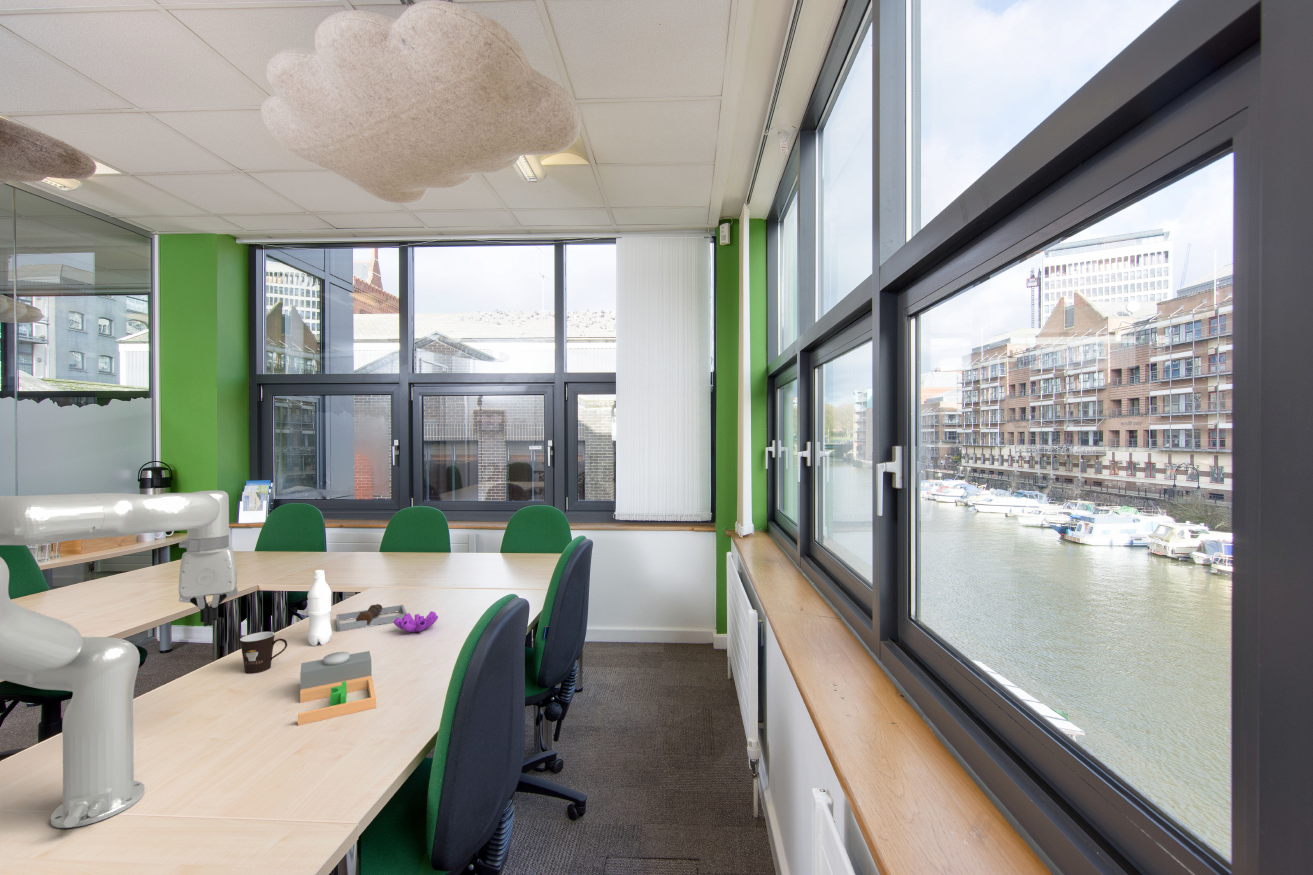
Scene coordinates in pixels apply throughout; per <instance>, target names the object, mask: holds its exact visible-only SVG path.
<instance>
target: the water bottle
mask: <svg viewBox="0 0 1313 875" xmlns="http://www.w3.org/2000/svg"><path fill="white" fill-rule="evenodd" d="M325 578H326V574H325V569H316V570H314V575H313V579H314V580H313V582H312V585H311V587H310V588H309V590H308V592H307V614H308V622H309V623H308V624H309V625H308V626H309V627H308V633H307V640H308V642H309V644H310V645H311V646H312V647H315V646H317V645H318V644H320V645H321V646H324V645H327V643H329V642H331V639H332V636H333V630H332V625H331V612H332V594H333V593H332V590H331V588H330V586H329V584H328V583H327V582H326V579H325Z"/></svg>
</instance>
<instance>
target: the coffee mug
mask: <svg viewBox="0 0 1313 875" xmlns="http://www.w3.org/2000/svg"><path fill="white" fill-rule="evenodd" d="M275 635H276V634H275V632H274V631H260V632H255V633H250V634H247V635H245V636H242V637H241V638H239V640H240V649H241V653H242V654H241V655H242V661H243V662H242V663H243V668H244V672H245V674H248V675H249V674H250V675H251V674H252V675H253V674H258V673H263V672H266V671H267V670H269V669H271V668H272V660H273V659H274V658H277V656H280V654H282V653H283V652H284V651H285V650H286V649H287V647H288V642H287V640H286V639H284V638H278V639H277V638H276V639H275ZM280 641H281V642H283V643H284V645H285V646H284V647H283V648H282V650H280V651H279V652H278V653H276V654H274V655H273V651H274V646H275V644H276V643H278V642H280Z"/></svg>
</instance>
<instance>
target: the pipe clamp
mask: <svg viewBox="0 0 1313 875" xmlns="http://www.w3.org/2000/svg"><path fill="white" fill-rule="evenodd" d="M347 694H348V693H347V690H346V681H344V682H342V686H337V687H332V688H331V694H330V697H329V707H330V706H334V705H339V704H344V703H347V698H348V697H347V696H348V695H347Z"/></svg>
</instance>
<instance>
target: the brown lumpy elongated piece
mask: <svg viewBox="0 0 1313 875" xmlns="http://www.w3.org/2000/svg"><path fill="white" fill-rule="evenodd" d="M382 608H383V606H382V605H381V604H380V603H376V604H371V605H370V606H369V608H367V610H368V611H366V612H360V613H359V615H358V617H357V618H356V619H355V621H363V620H367V625H369V624H370V622H371V621H372V619H374V618H379V616H380V615H379V614H380V612H381V611H382Z"/></svg>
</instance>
